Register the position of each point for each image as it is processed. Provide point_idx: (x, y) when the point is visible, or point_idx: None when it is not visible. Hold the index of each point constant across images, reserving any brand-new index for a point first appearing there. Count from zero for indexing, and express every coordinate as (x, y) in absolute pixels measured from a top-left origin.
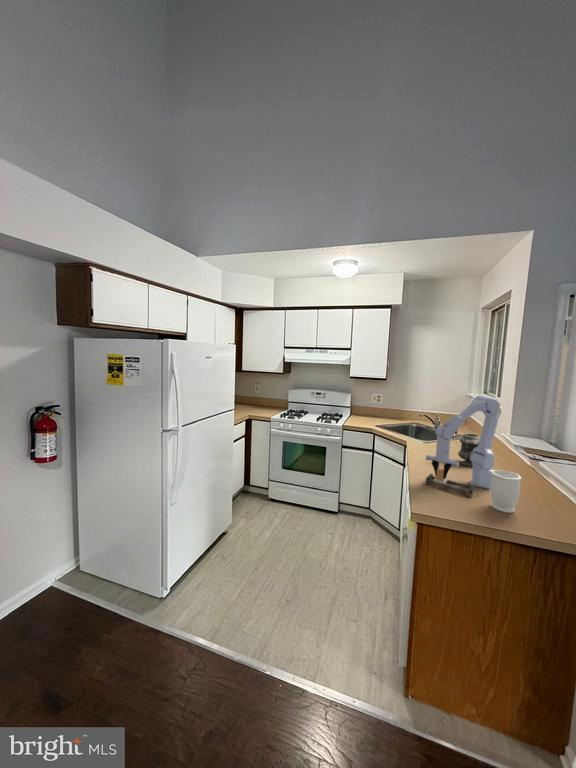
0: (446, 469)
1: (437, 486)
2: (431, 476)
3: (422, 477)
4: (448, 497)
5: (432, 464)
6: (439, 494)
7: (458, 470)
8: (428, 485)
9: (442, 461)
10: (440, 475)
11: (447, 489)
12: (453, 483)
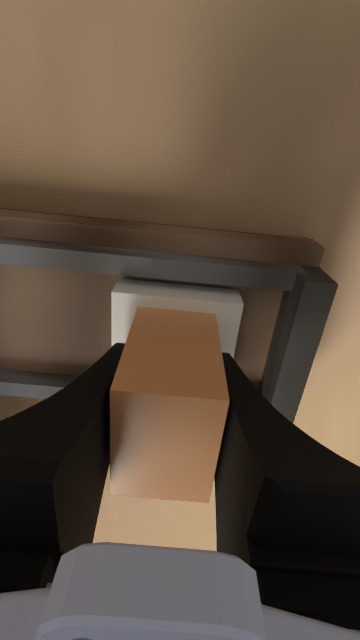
0: (37, 418)
1: (185, 232)
2: (274, 380)
3: (339, 409)
4: (18, 17)
5: (355, 470)
6: (130, 45)
7: None
8: (279, 236)
9: (41, 624)
10: (164, 345)
11: (78, 221)
12: (62, 378)
